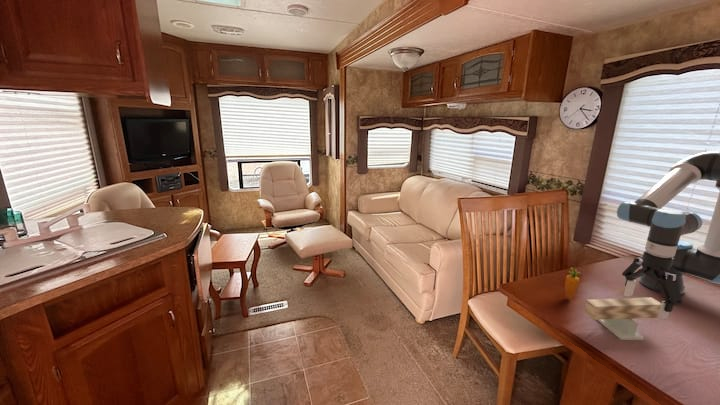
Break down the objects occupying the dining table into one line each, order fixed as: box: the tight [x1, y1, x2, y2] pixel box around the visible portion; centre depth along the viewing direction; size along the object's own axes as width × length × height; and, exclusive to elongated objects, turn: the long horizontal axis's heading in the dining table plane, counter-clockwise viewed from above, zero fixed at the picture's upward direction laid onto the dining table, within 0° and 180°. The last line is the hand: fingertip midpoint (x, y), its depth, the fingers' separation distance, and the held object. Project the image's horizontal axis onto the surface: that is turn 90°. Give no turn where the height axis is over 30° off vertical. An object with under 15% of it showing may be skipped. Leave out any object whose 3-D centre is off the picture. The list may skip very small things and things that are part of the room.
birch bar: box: [583, 297, 662, 321], centre depth 108 cm, size 24×4×6 cm, turn 89°
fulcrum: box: [597, 319, 645, 341], centre depth 109 cm, size 8×12×6 cm, turn 179°
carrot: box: [564, 267, 581, 300], centre depth 127 cm, size 5×5×15 cm
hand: (644, 306), depth 108 cm, fingers open, 13 cm apart
